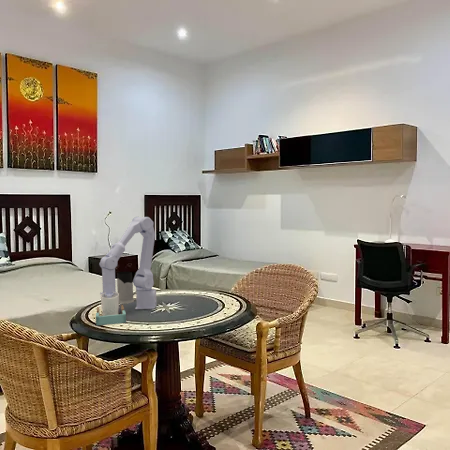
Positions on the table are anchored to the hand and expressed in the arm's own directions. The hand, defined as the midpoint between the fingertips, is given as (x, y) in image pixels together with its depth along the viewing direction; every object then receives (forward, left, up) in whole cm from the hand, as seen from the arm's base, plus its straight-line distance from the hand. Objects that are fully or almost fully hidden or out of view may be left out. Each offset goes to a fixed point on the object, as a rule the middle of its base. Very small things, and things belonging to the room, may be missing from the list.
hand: (109, 312), depth 205 cm
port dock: (-4, +12, -1) cm, 13 cm away
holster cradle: (0, -1, -1) cm, 2 cm away
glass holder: (-4, -28, -2) cm, 28 cm away
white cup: (-1, +4, -1) cm, 4 cm away
